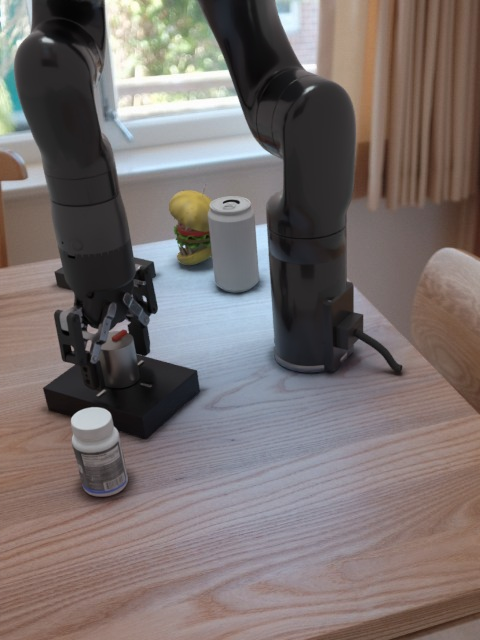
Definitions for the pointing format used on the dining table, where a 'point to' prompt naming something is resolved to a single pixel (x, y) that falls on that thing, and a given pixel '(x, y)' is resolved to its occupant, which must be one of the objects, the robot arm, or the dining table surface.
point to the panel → (129, 396)
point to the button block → (61, 278)
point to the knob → (119, 360)
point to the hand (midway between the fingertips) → (119, 370)
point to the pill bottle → (98, 452)
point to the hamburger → (191, 226)
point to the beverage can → (233, 243)
